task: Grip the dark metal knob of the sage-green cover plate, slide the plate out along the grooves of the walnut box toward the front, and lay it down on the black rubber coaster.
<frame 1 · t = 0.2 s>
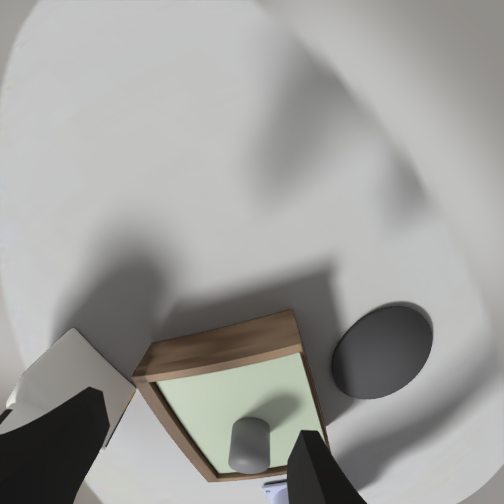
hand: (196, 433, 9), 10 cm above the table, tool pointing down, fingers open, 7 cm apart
medicine bottle: (88, 374, 21), on the table
walnut box: (246, 394, 20), on the table
cover plate: (251, 421, 17), point 3 cm above the table, touching walnut box
rubber coaster: (383, 355, 19), on the table
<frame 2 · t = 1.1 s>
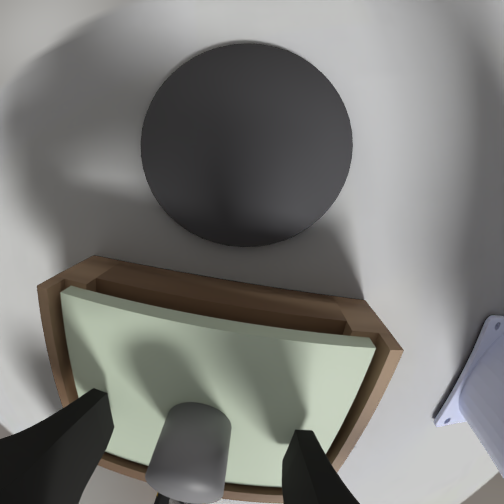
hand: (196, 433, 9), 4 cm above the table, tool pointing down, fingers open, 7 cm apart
medicine bottle: (150, 479, 16), on the table
walnut box: (212, 376, 13), on the table
cover plate: (202, 412, 10), point 3 cm above the table, touching walnut box
rubber coaster: (245, 140, 10), on the table
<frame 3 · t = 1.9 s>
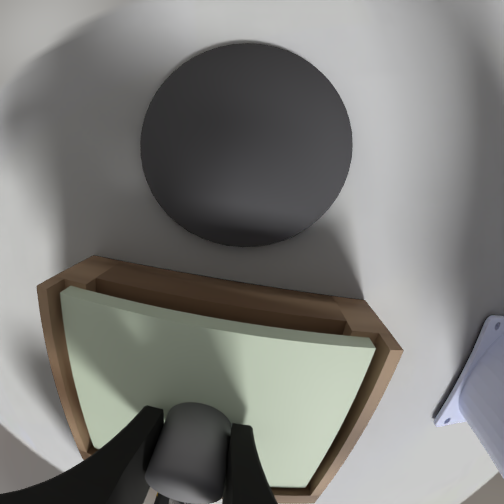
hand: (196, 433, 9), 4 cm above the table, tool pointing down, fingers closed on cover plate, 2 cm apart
medicine bottle: (150, 479, 16), on the table
walnut box: (211, 376, 13), on the table
cover plate: (201, 412, 10), point 3 cm above the table, touching gripper, walnut box
rubber coaster: (244, 140, 10), on the table
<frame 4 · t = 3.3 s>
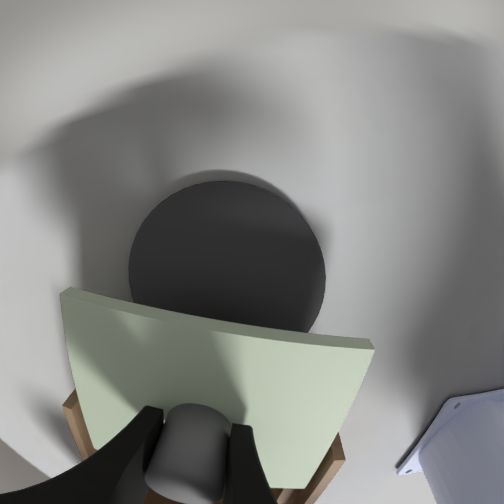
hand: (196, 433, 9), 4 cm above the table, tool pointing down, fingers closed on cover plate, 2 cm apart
walnut box: (204, 444, 14), on the table
cover plate: (201, 413, 10), point 3 cm above the table, touching gripper
rubber coaster: (224, 282, 12), on the table
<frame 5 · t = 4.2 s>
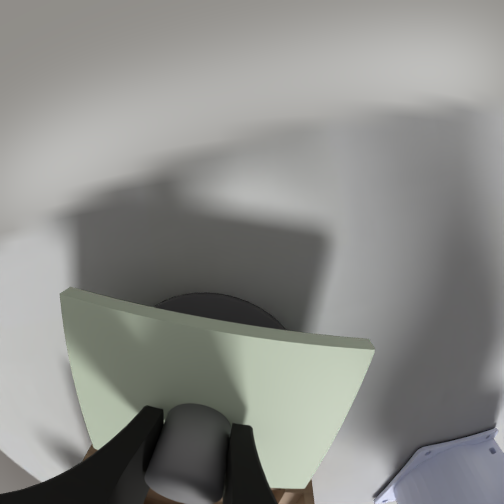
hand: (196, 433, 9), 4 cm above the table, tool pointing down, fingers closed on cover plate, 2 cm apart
walnut box: (201, 480, 15), on the table
cover plate: (201, 413, 10), point 3 cm above the table, touching gripper
rubber coaster: (212, 373, 13), on the table
when the fingers open (3 cm above the table, at t = 4.6 s): cover plate drops 1 cm, resting on rubber coaster.
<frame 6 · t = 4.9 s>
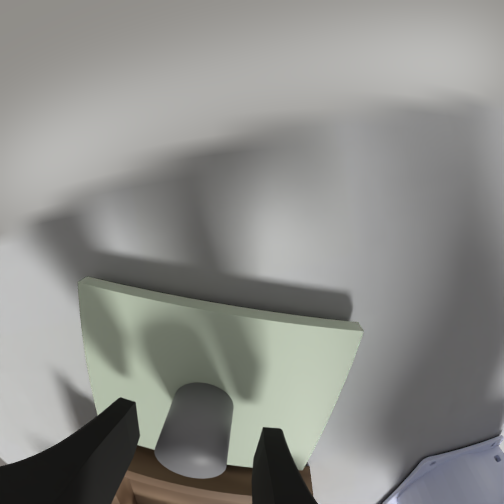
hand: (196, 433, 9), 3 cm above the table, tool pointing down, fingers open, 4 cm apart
walnut box: (198, 492, 14), on the table
cover plate: (206, 393, 11), resting on rubber coaster
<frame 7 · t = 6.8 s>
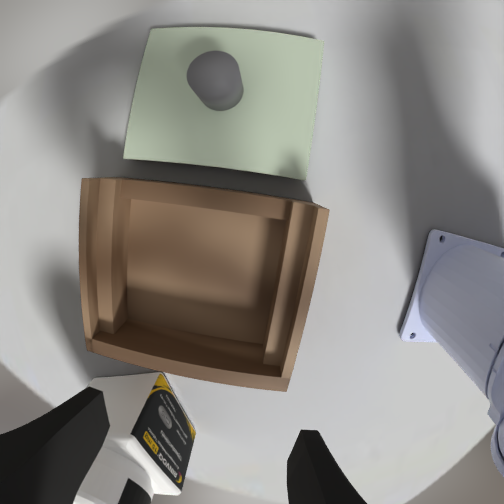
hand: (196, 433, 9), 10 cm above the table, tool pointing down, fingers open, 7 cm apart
medicine bottle: (144, 404, 21), on the table
walnut box: (200, 269, 18), on the table
cover plate: (223, 94, 15), resting on rubber coaster
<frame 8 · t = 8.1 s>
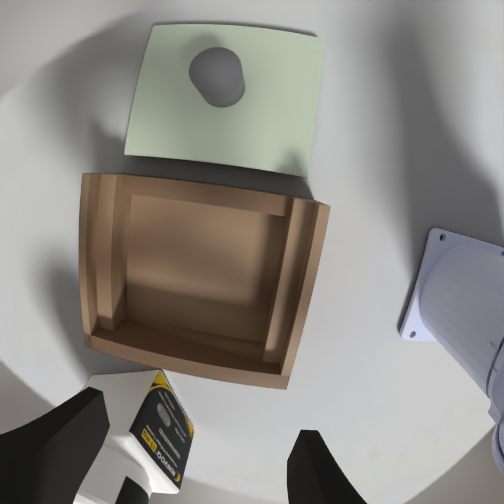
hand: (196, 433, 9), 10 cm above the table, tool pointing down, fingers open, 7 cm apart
medicine bottle: (143, 402, 21), on the table
walnut box: (200, 266, 18), on the table
cover plate: (224, 91, 15), resting on rubber coaster
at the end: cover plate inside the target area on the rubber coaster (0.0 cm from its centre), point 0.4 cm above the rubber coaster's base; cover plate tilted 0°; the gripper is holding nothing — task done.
